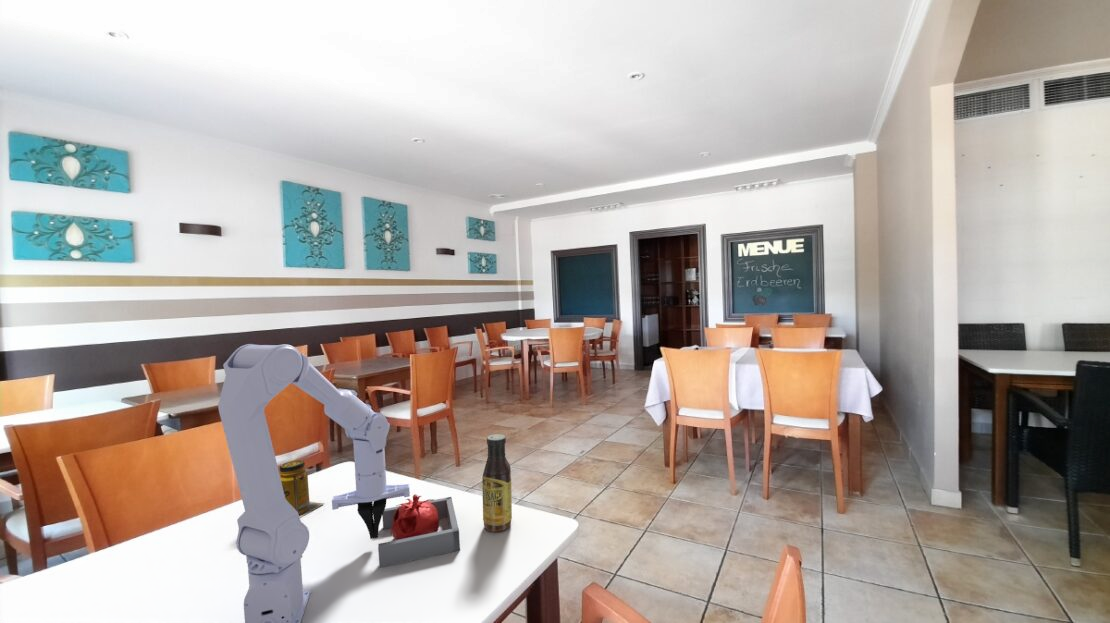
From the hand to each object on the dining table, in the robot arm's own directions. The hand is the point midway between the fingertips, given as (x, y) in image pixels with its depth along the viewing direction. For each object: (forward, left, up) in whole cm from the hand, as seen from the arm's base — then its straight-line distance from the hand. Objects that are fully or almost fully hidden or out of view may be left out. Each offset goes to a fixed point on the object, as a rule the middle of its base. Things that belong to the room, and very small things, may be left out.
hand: (374, 535), depth 91 cm
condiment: (+25, +19, -3) cm, 31 cm away
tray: (0, -9, -2) cm, 9 cm away
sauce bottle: (-2, -25, -3) cm, 25 cm away
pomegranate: (+1, -8, -3) cm, 8 cm away
